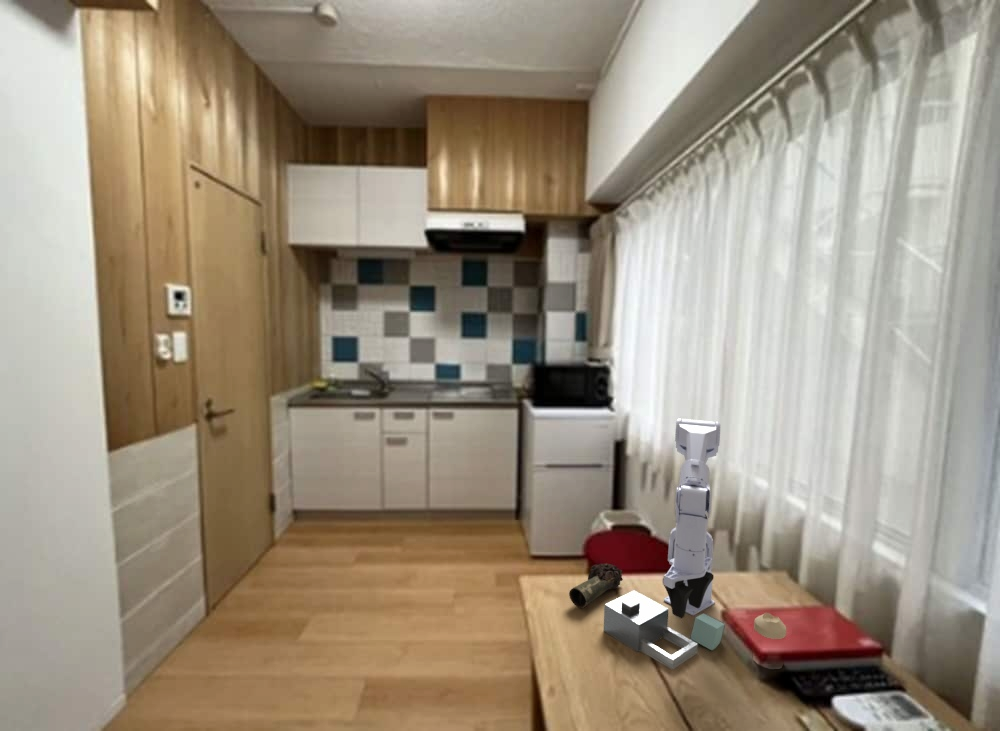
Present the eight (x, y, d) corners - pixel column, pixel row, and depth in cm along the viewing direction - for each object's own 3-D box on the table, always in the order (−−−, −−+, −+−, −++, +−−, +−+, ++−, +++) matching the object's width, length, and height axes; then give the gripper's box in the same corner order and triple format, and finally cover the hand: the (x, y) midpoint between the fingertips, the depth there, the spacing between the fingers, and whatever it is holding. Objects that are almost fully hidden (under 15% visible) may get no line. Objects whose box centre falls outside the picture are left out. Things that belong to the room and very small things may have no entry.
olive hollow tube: (585, 612, 116) (587, 588, 115) (561, 599, 120) (563, 576, 120) (625, 586, 128) (627, 565, 128) (603, 576, 133) (604, 555, 133)
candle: (746, 655, 103) (750, 608, 102) (774, 656, 103) (777, 609, 102) (759, 674, 97) (763, 624, 96) (788, 675, 97) (792, 626, 96)
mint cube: (690, 638, 106) (699, 633, 109) (712, 650, 102) (720, 644, 106) (695, 617, 106) (704, 613, 109) (717, 628, 103) (725, 623, 106)
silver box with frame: (641, 611, 118) (642, 579, 117) (707, 648, 105) (709, 613, 104) (603, 630, 110) (605, 597, 109) (669, 673, 97) (671, 636, 96)
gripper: (692, 530, 109) (688, 591, 110) (651, 547, 100) (647, 613, 101) (723, 542, 103) (719, 605, 104) (683, 561, 94) (679, 630, 95)
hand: (686, 610), depth 102 cm, fingers open, 5 cm apart
